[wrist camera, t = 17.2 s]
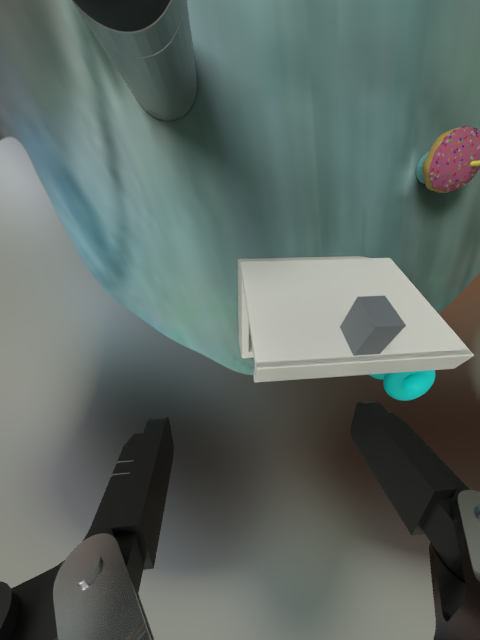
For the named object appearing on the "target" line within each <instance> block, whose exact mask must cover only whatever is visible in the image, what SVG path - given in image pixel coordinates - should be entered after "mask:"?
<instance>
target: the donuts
mask: <svg viewBox="0 0 480 640" xmlns="http://www.w3.org/2000/svg"><path fill="white" fill-rule="evenodd" d="M369 375H370V376H371V377H373V378H376V379H384V381H383V383H384V384H383V385H384V389H385V391H386V392H387V393H388V394H389V395H390V396H391V397H393V398H395V399H397V400H403V401H406V400H412V399H415V398H417V397H420V396H421V395H423V394H424V393H426V392H427V391H428V390H429V389H430V387H431V386H432V384H433V382H434V379H435V370H427V371H412V372H398V373H383V374H369Z"/></svg>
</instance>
